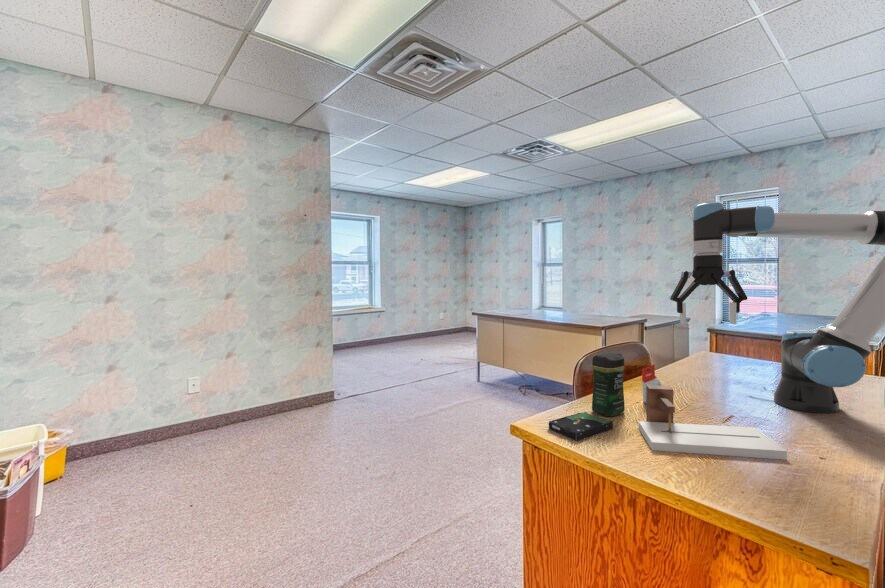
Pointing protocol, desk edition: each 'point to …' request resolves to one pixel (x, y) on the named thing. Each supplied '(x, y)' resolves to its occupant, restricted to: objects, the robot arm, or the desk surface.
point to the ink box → (649, 379)
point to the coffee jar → (608, 384)
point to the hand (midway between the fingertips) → (707, 323)
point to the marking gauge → (659, 404)
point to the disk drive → (580, 425)
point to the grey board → (710, 440)
